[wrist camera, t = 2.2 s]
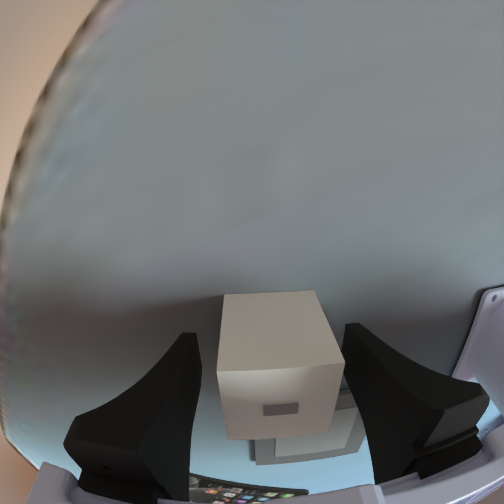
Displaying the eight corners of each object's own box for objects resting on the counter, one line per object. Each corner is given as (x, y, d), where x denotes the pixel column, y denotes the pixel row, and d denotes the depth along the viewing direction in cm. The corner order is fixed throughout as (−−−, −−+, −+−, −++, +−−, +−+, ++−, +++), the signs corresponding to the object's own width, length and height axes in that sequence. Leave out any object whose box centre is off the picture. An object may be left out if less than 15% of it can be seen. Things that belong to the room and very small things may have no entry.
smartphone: (158, 465, 19) (312, 491, 21) (159, 459, 19) (312, 486, 22) (144, 489, 21) (276, 513, 23) (145, 484, 21) (276, 508, 24)
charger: (313, 289, 13) (346, 364, 8) (308, 356, 15) (329, 434, 10) (224, 293, 13) (216, 374, 8) (230, 361, 15) (228, 442, 10)
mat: (382, 383, 16) (384, 388, 15) (356, 448, 19) (357, 452, 18) (252, 399, 16) (252, 405, 15) (255, 461, 18) (255, 466, 18)
